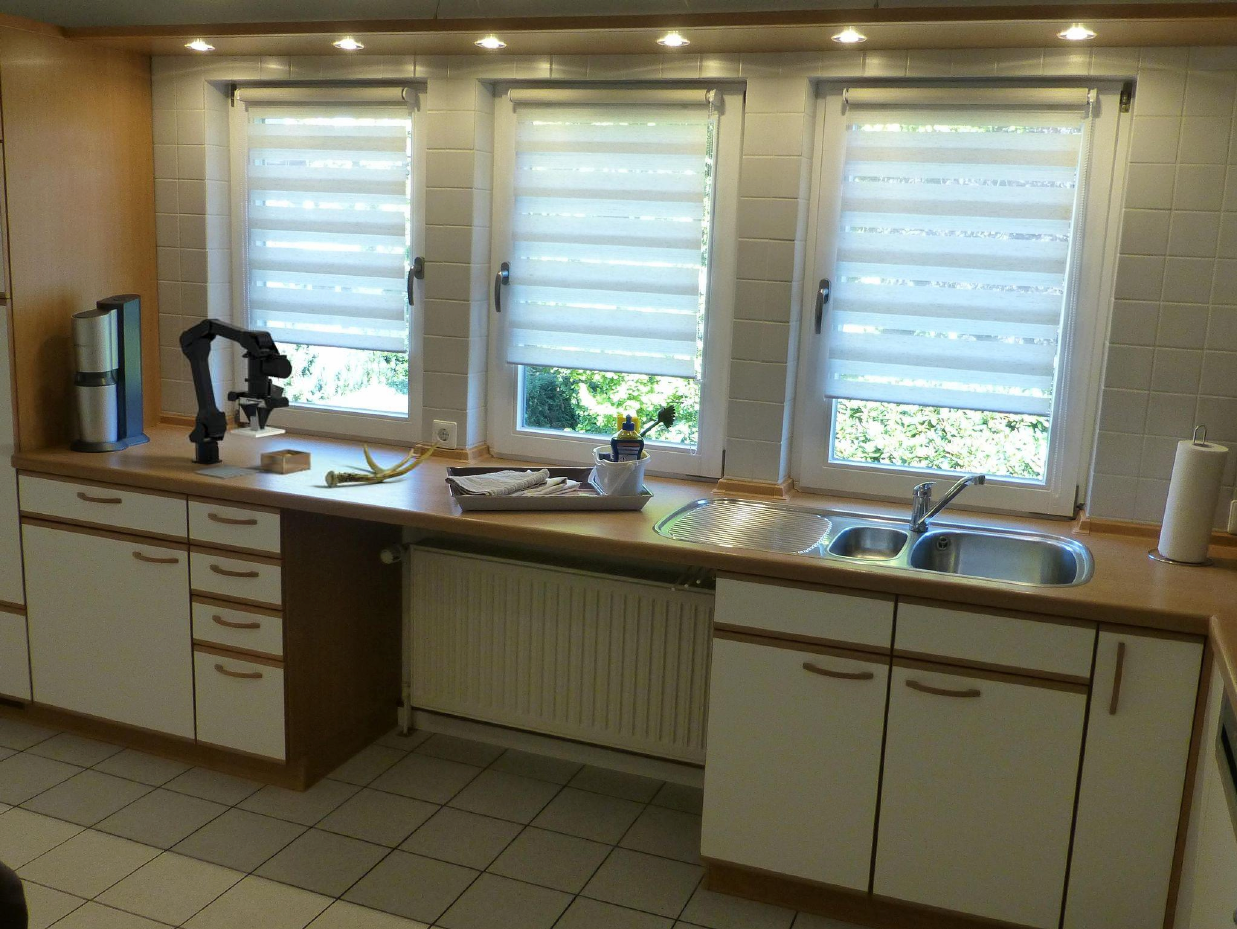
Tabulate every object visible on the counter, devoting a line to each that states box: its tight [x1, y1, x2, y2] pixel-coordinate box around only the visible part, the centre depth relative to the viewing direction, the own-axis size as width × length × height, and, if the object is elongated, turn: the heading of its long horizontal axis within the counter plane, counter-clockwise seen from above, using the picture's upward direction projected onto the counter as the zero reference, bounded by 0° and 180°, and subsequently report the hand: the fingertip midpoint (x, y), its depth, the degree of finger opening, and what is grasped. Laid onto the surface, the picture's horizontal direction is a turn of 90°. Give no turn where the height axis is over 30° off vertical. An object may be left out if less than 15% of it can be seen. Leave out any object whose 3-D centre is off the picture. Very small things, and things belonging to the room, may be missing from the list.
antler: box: [324, 440, 441, 488], centre depth 314 cm, size 27×32×10 cm
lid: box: [230, 414, 286, 438], centre depth 316 cm, size 10×12×5 cm
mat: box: [194, 464, 260, 479], centre depth 314 cm, size 12×13×1 cm
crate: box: [260, 448, 312, 476], centre depth 322 cm, size 9×11×5 cm
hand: (257, 428), depth 316 cm, fingers closed on lid, 3 cm apart
